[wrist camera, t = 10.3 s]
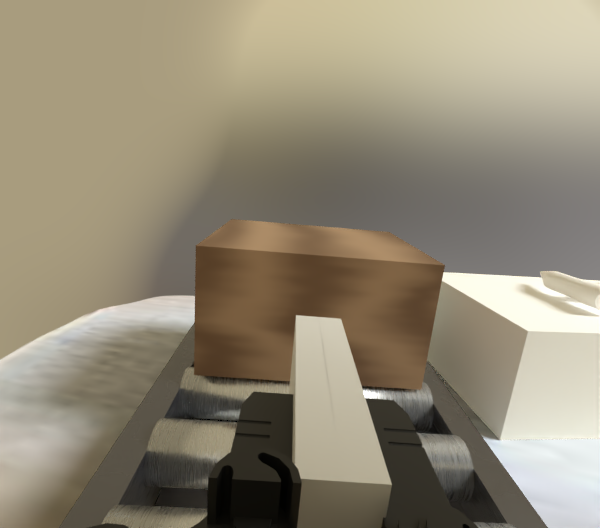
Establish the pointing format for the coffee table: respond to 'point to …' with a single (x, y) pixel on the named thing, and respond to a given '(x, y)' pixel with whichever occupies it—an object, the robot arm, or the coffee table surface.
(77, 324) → the coffee table surface
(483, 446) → the roller track
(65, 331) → the coffee table surface
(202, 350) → the brown wooden block
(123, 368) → the coffee table surface
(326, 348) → the robot arm
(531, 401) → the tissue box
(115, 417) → the coffee table surface
